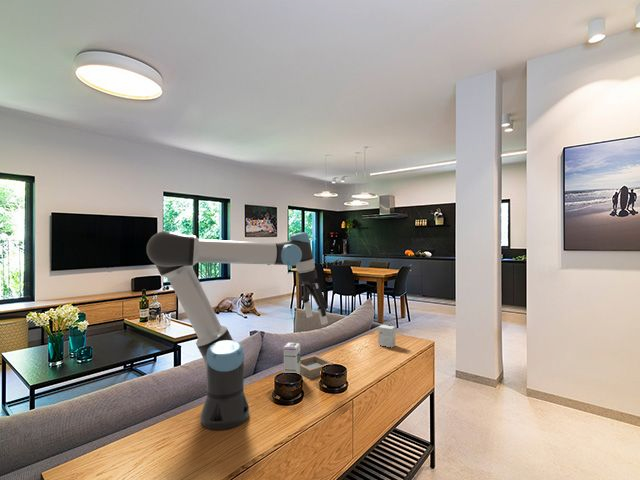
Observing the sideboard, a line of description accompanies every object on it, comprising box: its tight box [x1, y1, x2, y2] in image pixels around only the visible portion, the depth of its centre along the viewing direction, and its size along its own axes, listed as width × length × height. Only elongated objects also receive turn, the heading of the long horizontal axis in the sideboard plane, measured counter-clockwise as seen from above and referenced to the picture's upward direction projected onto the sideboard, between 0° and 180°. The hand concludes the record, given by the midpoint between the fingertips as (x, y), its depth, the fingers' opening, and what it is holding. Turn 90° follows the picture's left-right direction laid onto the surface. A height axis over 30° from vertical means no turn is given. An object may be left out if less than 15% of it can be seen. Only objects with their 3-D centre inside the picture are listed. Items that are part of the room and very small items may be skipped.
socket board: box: [300, 354, 334, 379], centre depth 145 cm, size 14×14×3 cm
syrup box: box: [283, 342, 302, 375], centre depth 135 cm, size 6×6×14 cm
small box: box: [377, 324, 396, 348], centre depth 177 cm, size 8×6×10 cm
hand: (316, 320), depth 134 cm, fingers open, 13 cm apart
